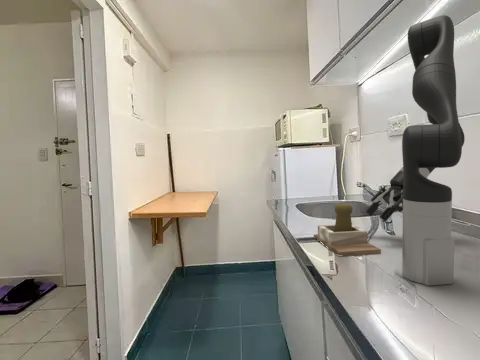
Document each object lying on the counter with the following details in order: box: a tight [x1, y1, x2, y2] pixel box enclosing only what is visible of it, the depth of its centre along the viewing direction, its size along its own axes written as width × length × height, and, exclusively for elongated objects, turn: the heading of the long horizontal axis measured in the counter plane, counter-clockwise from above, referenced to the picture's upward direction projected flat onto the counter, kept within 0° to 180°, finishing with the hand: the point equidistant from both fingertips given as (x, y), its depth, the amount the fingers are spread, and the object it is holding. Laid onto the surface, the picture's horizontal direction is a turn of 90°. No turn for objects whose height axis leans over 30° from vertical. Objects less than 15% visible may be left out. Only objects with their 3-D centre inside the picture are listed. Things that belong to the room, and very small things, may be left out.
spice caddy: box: [313, 224, 382, 257], centre depth 100 cm, size 20×12×5 cm, turn 7°
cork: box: [334, 202, 353, 232], centre depth 102 cm, size 6×6×11 cm
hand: (374, 216), depth 102 cm, fingers open, 8 cm apart
